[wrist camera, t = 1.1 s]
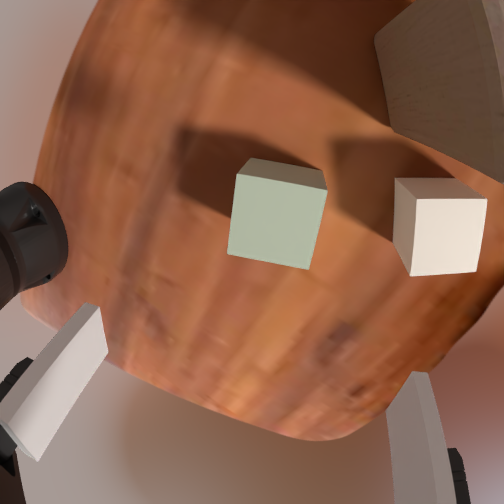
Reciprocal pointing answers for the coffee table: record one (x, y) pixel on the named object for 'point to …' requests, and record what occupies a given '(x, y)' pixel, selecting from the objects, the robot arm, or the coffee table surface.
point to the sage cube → (276, 212)
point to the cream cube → (438, 225)
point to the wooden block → (448, 78)
